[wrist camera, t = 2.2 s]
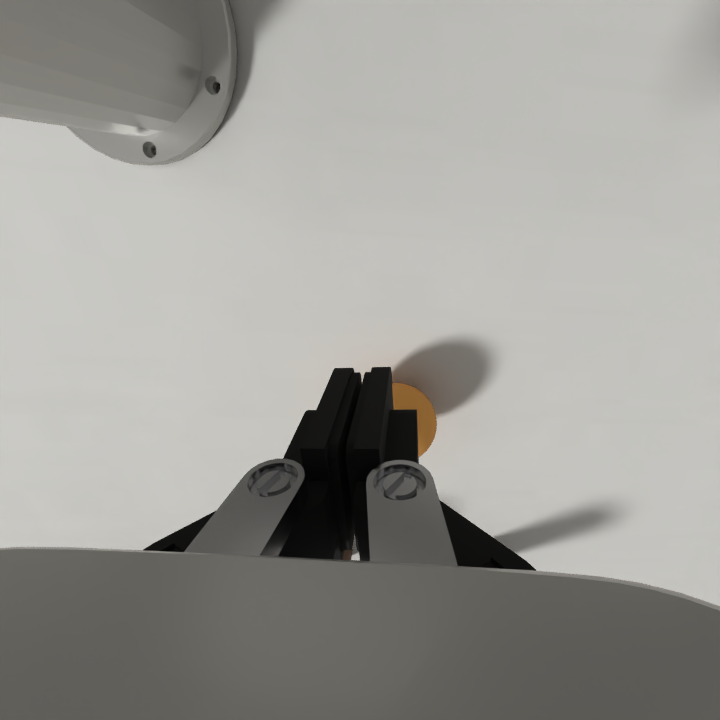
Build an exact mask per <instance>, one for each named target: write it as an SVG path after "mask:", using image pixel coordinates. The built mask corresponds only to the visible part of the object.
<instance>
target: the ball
mask: <svg viewBox="0 0 720 720" xmlns="http://www.w3.org/2000/svg"><path fill="white" fill-rule="evenodd" d="M392 390H393V407H394V410H403V409H417V422H418V457H420V456H421V455H422V454H424V453H425V452H426V451H427V449H428V448H429V447H430V445H431V443H432V442H433V439H434V437H435V433H436V426H437V421H436V415H435V411H434V408H433V406H432V404H431V402H430V401H429V399H428V398H427V397H426V396H425V395H424V394H423V393H422V392H421V391H419V390H418V389H416V388H414V387H412V386H410V385H407V384H402V383H392Z"/></svg>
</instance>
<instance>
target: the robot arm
mask: <svg viewBox="0 0 720 720" xmlns="http://www.w3.org/2000/svg"><path fill="white" fill-rule="evenodd" d="M236 67H237V45H236V34H235V25H234V21H233V17H232V13H231V9H230V4H229V0H0V117H6V118H13V119H20V120H26V121H33V122H40V123H47V124H54V125H61V126H66V127H67V128H68V129H69V130H70V131H71V132H72V133H74V134H75V135H76V136H77V137H78V138H79V139H81V140H82V141H83V142H85V143H86V144H88V145H89V146H90V147H92V148H93V149H94V150H96V151H99V152H101V153H103V154H105V155H107V156H109V157H111V158H113V159H116V160H120V161H123V162H127V163H130V164H139V165H164V164H169V163H173V162H176V161H179V160H183V159H184V158H186V157H188V156H190V155H191V154H193V153H195V152H196V151H198V150H199V149H200V148H201V147H202V146H203V145H204V144H205V143H206V142H208V141H209V140H210V139H211V138H212V136H213V135H214V133H215V132H216V130H217V129H218V127H219V126H220V124H221V123H222V121H223V119H224V116H225V114H226V112H227V109H228V107H229V104H230V102H231V98H232V94H233V89H234V84H235V80H236ZM219 83H220V91H219V92H218V93H217V91H216V86H217V84H219ZM155 148H156V152H157V154H156V152H155ZM354 534H355V538H356V546H357V550H358V551H359V555H360V561H356V560H343V555H344V550H351V549H352V546H353V540H354ZM0 720H720V606H717V605H714V604H712V603H709V602H706V601H703V600H700V599H697V598H694V597H691V596H688V595H685V594H682V593H679V592H675V591H671V590H667V589H663V588H659V587H654V586H650V585H646V584H642V583H638V582H631V581H625V580H619V579H612V578H606V577H600V576H588V575H577V574H566V573H555V572H544V571H536V569H534V568H533V567H532V566H531V565H530V564H529V563H528V562H527V561H525V560H524V559H523V558H521V557H520V556H518V555H517V554H516V553H514V552H513V551H511V550H510V549H508V548H507V547H506V546H504V545H503V544H501V543H500V542H498V541H497V540H496V539H494V538H493V537H491V536H490V535H488V534H487V533H486V532H484V531H483V530H481V529H480V528H478V527H477V526H476V525H474V524H473V523H471V522H470V521H468V520H467V519H466V518H464V517H463V516H461V515H460V514H459V513H457V512H456V511H454V510H453V509H451V508H450V507H449V506H447V505H446V504H444V503H443V502H441V501H440V500H439V497H438V494H437V490H436V487H435V483H434V480H433V477H432V475H431V473H430V472H429V471H428V470H427V469H426V468H425V467H424V466H422V465H420V464H419V459H418V422H417V409H403V410H394V407H393V390H392V374H391V367H372V370H371V372H365V375H364V378H363V382H361V374H360V372H358V373H354V369H353V368H335V369H334V370H333V373H332V375H331V377H330V380H329V382H328V384H327V387H326V389H325V391H324V394H323V396H322V398H321V401H320V403H319V405H318V408H317V410H307V411H306V412H305V413H304V416H303V418H302V420H301V422H300V424H299V426H298V428H297V430H296V432H295V435H294V437H293V439H292V441H291V443H290V445H289V447H288V449H287V451H286V454H285V456H284V458H283V459H274V460H269V461H266V462H263V463H261V464H258V465H257V466H255V467H253V468H252V469H251V470H249V471H248V472H247V473H246V474H245V475H244V477H243V478H242V479H241V480H240V482H239V483H238V484H237V485H236V487H235V488H234V489H233V491H232V492H231V493H230V494H229V496H228V497H227V498H226V499H225V501H224V502H223V503H222V504H221V506H220V507H219V508H218V509H217V511H215V512H213V513H211V514H209V515H207V516H205V517H203V518H201V519H199V520H197V521H196V522H194V523H192V524H190V525H188V526H186V527H184V528H182V529H180V530H178V531H176V532H174V533H172V534H171V535H169V536H167V537H165V538H163V539H161V540H159V541H157V542H155V543H153V544H152V545H150V546H149V547H147V548H145V549H144V550H121V549H97V548H74V547H11V548H0Z"/></svg>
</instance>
